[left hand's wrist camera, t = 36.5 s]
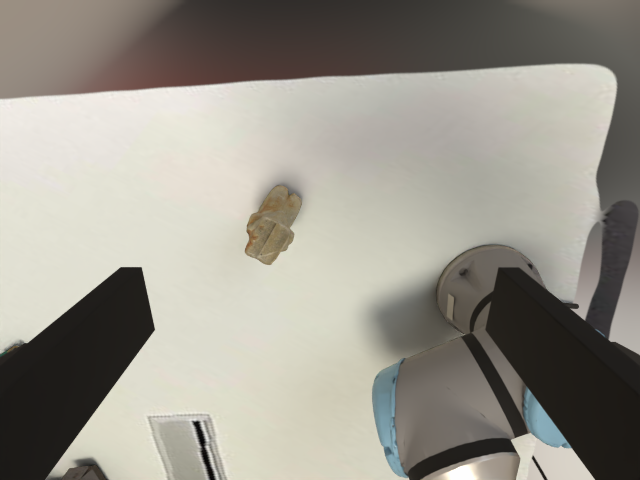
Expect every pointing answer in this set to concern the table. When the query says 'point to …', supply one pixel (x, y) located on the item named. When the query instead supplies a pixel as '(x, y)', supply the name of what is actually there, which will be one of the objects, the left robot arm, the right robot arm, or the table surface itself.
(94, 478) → the toy
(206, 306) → the table surface
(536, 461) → the right robot arm
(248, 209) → the table surface
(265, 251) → the sculpture
